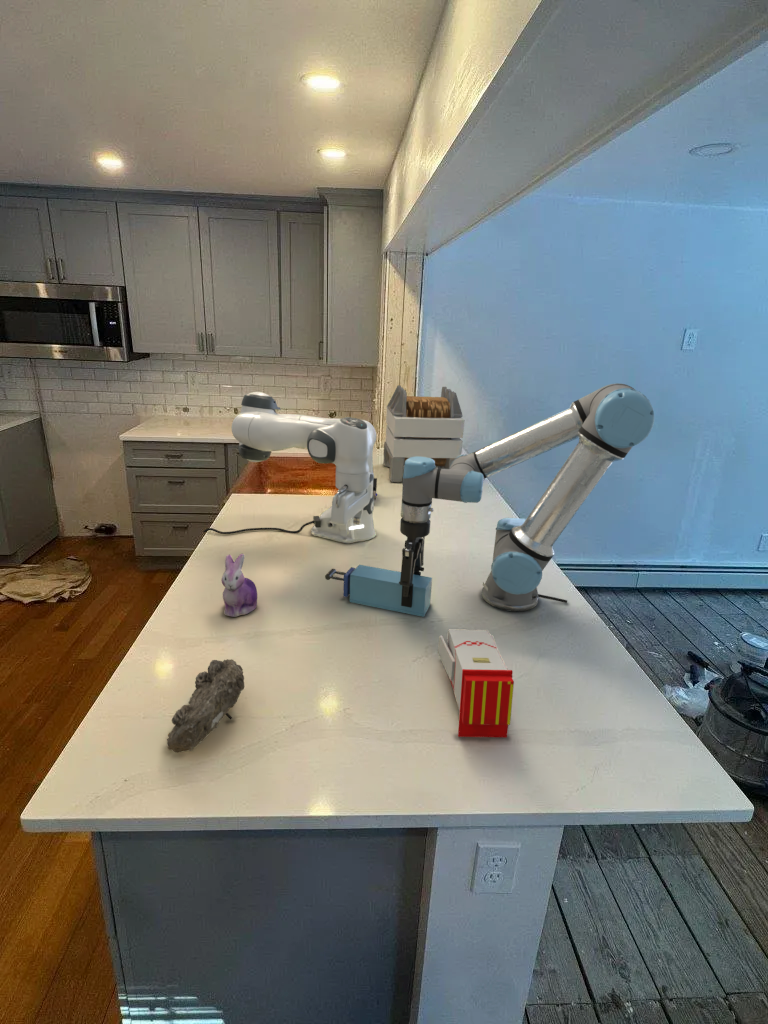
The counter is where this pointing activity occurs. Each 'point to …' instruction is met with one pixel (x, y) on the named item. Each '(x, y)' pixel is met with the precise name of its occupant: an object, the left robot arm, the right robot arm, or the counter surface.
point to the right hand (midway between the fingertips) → (410, 599)
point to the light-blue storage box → (388, 590)
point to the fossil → (206, 705)
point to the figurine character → (374, 487)
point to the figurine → (237, 589)
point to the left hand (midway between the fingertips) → (350, 529)
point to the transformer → (422, 430)
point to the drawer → (346, 579)
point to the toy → (478, 682)
